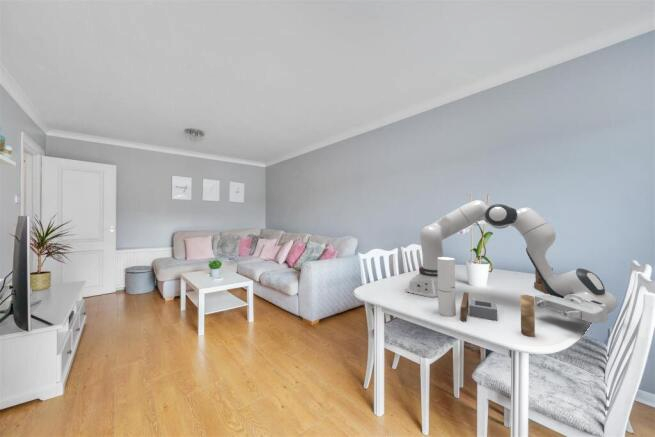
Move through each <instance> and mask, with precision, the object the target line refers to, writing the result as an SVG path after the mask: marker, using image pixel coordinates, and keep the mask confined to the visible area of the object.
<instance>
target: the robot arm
mask: <svg viewBox="0 0 655 437" xmlns="http://www.w3.org/2000/svg"><path fill="white" fill-rule="evenodd" d="M481 221H484V222H485V223H487V224H488V225H490V226H491V227H493V228H494V229H505V228H508V227H509V226H511V227H513V228H515V229H516V230H517V232H518V233H519V234H520V235H521V237H522V238H523V239H524V241H525V245H526V248H525V250H526V254H527V256H528V259H529V260H530V261H531V263H532V265H533V267H534V269H536V270H537V272H538V274H539V276H540V277H541V279H542V281H543V284H544V286H545V289H546V291H547V292H548V293H549V294H536V295H535V296H534V304H536V307H538V308H547V309H550V310H553V311H556V312H559V313H561V314H563V316H564V317H567V318H577V319H580V320H583V321H586V322H589V323H591V324H592V323H593V324H600V323H607V322H608V314H610V313H612V312H613V311H615V310H616V309H617V307H618V300H617V298H616V297H615V295H614V294H612V293H610V292H608V291H607V290H606V289H605V286H604V283H603V282H602V280H601V279H600V277H599V276H598V275H596V273H594V272H592V271H591V270H588V269H584V268H576V269H573V270H570V271H566V272H564V273H561V274H558V275H557V274H556V273H555V272H554V269H553V270H552V269H551V268H552V267H551V265H550V263H549V262H548V261H547V258H546V253H547V251H548V250H549V249H550V248H551V246H552V245H553V244H554V243H555V240H556V235H557V233H556V231H555V230H554V228H553V227H552V226H551V225H550V224H549V223H548V222H547V220H546V219H545V218H544V217H543V216H542V215H540V214H539V212H537V211H536V210H535V209H533V208H531V207H529V206H527V207H521V208H518V209H515V208H513V207H510V206H508V205H505V204H501V203H495V204H491V205H490V206H489V205H487V204H486V203H485V201H483V200H480V199H477V200H476V199H475V200H473V201H469V202H467V203H465V204H463V205H461V206H460V207H458V208H456V209H454V210H453V211H450V212H449V213H448V214H445V215H444V216H442V217H441V218H439V219H437V220H436V221H434V222H433V223H430V224H428V225H426V226H424V227H422V228H421V230H420V233H419V237H420V238H419V239H420V247H421V253H422V265H421V266H420V267H419V268H418V274H416V275H415V276H413V277H412V278H411V279H410V281H409V283H408V285H407V286H406V287H405V288H404V289H405V290H404V291H405V293H408V292H409V293H408V294H413V293H414V294H413V295H417V294H418V296H423V297H427V298H435V297H438V265H437V258H439V257H444V249H443V248H444V247H443V240H445V239H447V238H449V237H451V236H453V235H455V234H458V233H459V232H461V231H464V230H465V229H466V228H469V227H471V226H472V225H475V224H476V223H478V222H481Z"/></svg>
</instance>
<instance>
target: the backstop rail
mask: <svg viewBox="0 0 655 437" xmlns="http://www.w3.org/2000/svg"><path fill="white" fill-rule="evenodd" d="M460 303H461V304H460V322H467V319H468V312H469V307H470V300H469V292H465V291H464V292H463V295H462V299H461V302H460Z"/></svg>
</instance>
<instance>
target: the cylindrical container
mask: <svg viewBox="0 0 655 437" xmlns="http://www.w3.org/2000/svg"><path fill="white" fill-rule="evenodd" d="M437 265H438V296H437V303H438V304H437V306H438V307H437V308H438V309H437V310H438V311H437V312H438V313H437V314H439V315H441V316H444V317H455V316H456V315H457V308H456V306H457V305H456V303H457V301H456V300H457V299H456V258H453V257H448V256H443V257H439V258H437Z"/></svg>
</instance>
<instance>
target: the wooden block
mask: <svg viewBox="0 0 655 437" xmlns="http://www.w3.org/2000/svg"><path fill="white" fill-rule="evenodd" d="M534 269H535V268H534ZM551 269H552V270H553V271H554V268H553V267H551ZM534 274H535V275H534V276H535V281H534V282H533V289H536V290H538V291H540V292H541V293H543V294H545V295H550V294H549V293H548V292H547V291H546V289H545V286H544V284H543V281H542V279H541V277H540V276H539V274H538V272H537V270H536V269H535V272H534Z"/></svg>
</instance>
